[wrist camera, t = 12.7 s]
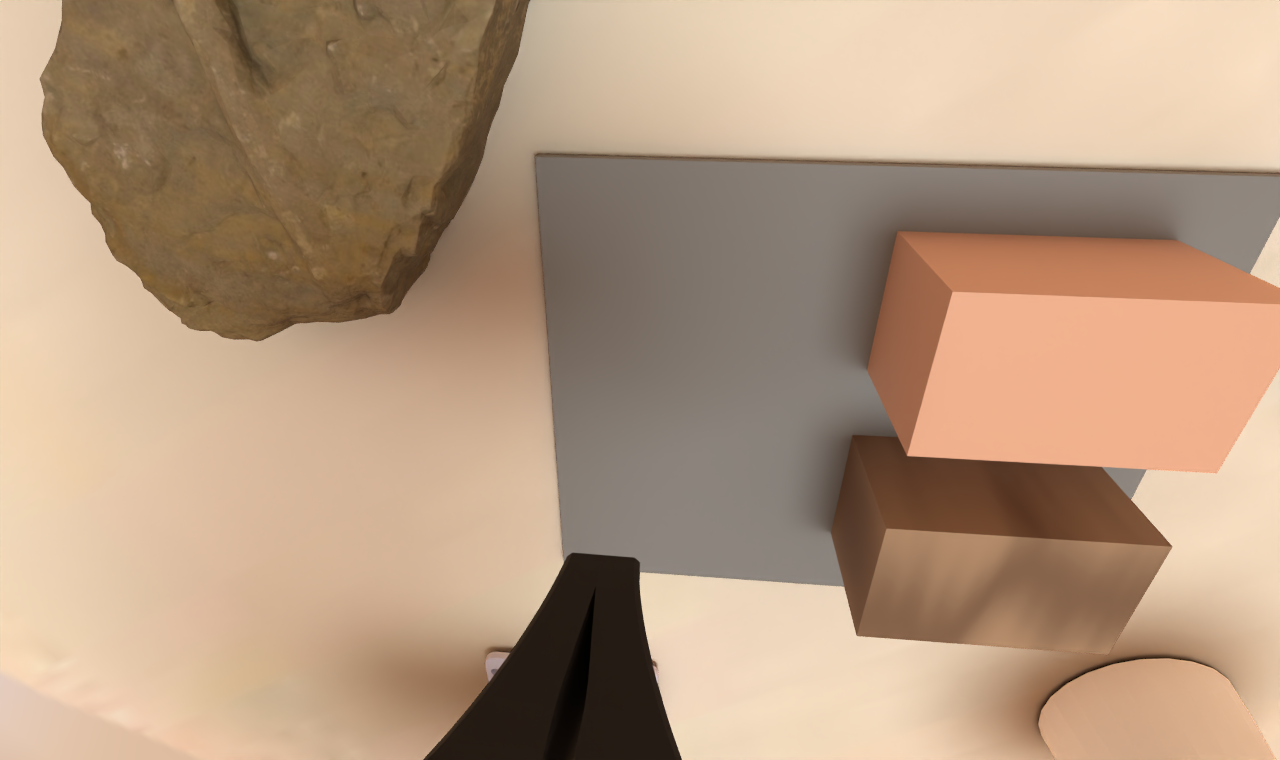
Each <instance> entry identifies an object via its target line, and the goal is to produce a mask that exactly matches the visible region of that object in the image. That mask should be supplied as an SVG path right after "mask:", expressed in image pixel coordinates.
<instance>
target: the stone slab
mask: <svg viewBox="0 0 1280 760" xmlns="http://www.w3.org/2000/svg"><path fill="white" fill-rule="evenodd" d="M529 1H530V0H62V23H61V27H60V31H59V35H58V39H57V43H56V47H55V50H54V52H53V54H52V56H51V58H50V60H49V62H48V64H47V66H46V68H45V70H44V71H43V73H42V75H41V77H40V81H41V85H42V88H43V92H44V95H45V99H44V104H43V109H42V130H43V136H44V138H45V140H46V142H47V144H48V146H49V148H50V150H51V152H52V154H53V156H54V157H55V159H56V160H57V161H58V162H59V163H60V164H61V165H62V166H63V168H64V169H65V171H66V173H67V174H68V176H69V178H70V180H71V182H72V183H73V185H74V186H75V188H76V189H77V190H78V191H79V192H80V193H81V194H82V195H83V196H84V197H85V198H86V199H87V200H88V201H89V202H90V203H91V210H92V214H93V216H94V217H95V218H96V219H97V220H98V221H99V223H100V224H101V226H102V228H103V230H104V232H105V239H106V243H107V245H108V247H109V249H110V251H111V253H112V255H113V256H114V257H115V259H116V260H117V261H118V262H120V263H122V264H124V265H126V266H128V267H129V268H130V269H131V270H133V271H134V272H135V273H136V274H137V275H138V276H139V277H140V278H141V281H142V283H143V286H144V288H145V289H147V290H148V291H149V292H151V293H152V294H153V295H154V296H155V297H156V298H157V299H158V300H159V301H160V302H161V303H162V304H163V305H164V306H165V307H166V308H167V309H168V310H170V311H171V312H173V313H174V314H176V315H177V316H178V317H180V318H181V322H182V324H185V325H187V327H188V328H190V329H194V330H199V331H213V332H215V333H217V334H218V335H220V336H221V337H224V338H230V339H250V340H254V341H261V340H264V339H266V338H268V337H270V336H272V335H274V334H276V333H278V332H280V331H282V330H284V329H286V328H288V327H290V326H292V325H294V324H296V323H310V322H345V321H351V320H358V319H364V318H368V317H372V316H375V315H379V314H390V313H392V312H394V311H395V310H396V309H397V308H398V307H399V306H400V305H401V302H402V300H403V298H404V296H405V295H406V293H407V291H408V290H409V288H410V287H411V286H412V285H413V283H414V282H415V281H416V280H417V279H418V277H419V276H420V275H421V274H422V273H423V272H424V271H425V270H426V268H427V265H428V262H429V260H430V253H431V252H432V251H433V250H434V248H435V246H436V244H437V242H438V240H439V238H440V236H441V234H442V232H443V231H444V229H445V228H446V227H447V226H448V224H449V222H450V220H451V219H453V218H454V216H455V215H456V213H457V211H458V209H459V208H460V206H461V204H462V202H463V200H464V198H465V197H466V195H467V193H468V191H469V189H470V187H471V185H472V182H473V180H474V178H475V175H476V173H477V171H478V168H479V166H480V163H481V161H482V158H483V154H484V149H485V144H486V140H487V135H488V133H489V130H490V127H491V124H492V121H493V118H494V116H495V114H496V112H497V110H498V107H499V104H500V100H501V96H502V92H503V87H504V84H505V82H506V80H507V78H508V76H509V73H510V71H511V69H512V67H513V64H514V62H515V59H516V57H517V55H518V51H519V46H520V41H521V36H522V31H523V26H524V22H525V17H526V12H527V7H528V3H529Z"/></svg>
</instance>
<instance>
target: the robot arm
mask: <svg viewBox="0 0 1280 760" xmlns="http://www.w3.org/2000/svg"><path fill="white" fill-rule="evenodd" d="M639 579H640V562H639V561H638V560H637V559H636V558H634V557H622V556H610V555H598V554H585V553H571V554H570V555H568V556H567V557H566V560H565V562H564V564H563V566H562V568H561V570H560V572H559V574H558V576H557V578H556V580H555V582H554V584H553V586H552V587H551V589H550V591H549V593H548V594H547V596H546V598H545V600H544V601H543V603H542V605H541V606H540V608H539V610H538V611H537V613H536V614H535V616H534V618H533V619H532V621H531V622H530V624H529V625H528V627H527V628H526V630H525V632H524V633H523V635H522V636H521V638H520V639H519V641H518V642H517V644H516V645H515V647H514V648H513V650H512V651H511V652H510V653H507V652H491V653H489V654H488V655H487V658H486V661H485V666H486V672H487V678H488V684H487V685H486V687H485V688H484V689H483V690H482V692H481V693H480V694H479V696H478V697H477V698H476V699H475V701H474V702H473V703H472V704H471V706H470V707H469V708H468V709H467V711H466V712H465V713H464V714H463V715H462V716H461V718H460V719H459V720H458V721H457V722H456V724H455V725H454V726H453V727H452V728H451V730H450V731H449V732H448V733H447V734H446V735H445V736H444V737H443V739H442V740H441V741H440V742H439V743H438V744H437V745H436V746H435V747H434V748H433V750H432V751H431V752H430V753H429V754H428V755H427V756H426V757H425V758H424V759H423V760H682V759H681V756H680V753H679V750H678V747H677V745H676V742H675V739H674V736H673V733H672V730H671V727H670V724H669V721H668V718H667V714H666V711H665V708H664V705H663V701H662V697H661V694H660V690H659V687H658V673H659V672H658V669H657V668H656V667H655V666H653V664H652V659H651V655H650V650H649V646H648V641H647V637H646V632H645V626H644V620H643V614H642V606H641V598H640V585H639Z"/></svg>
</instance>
